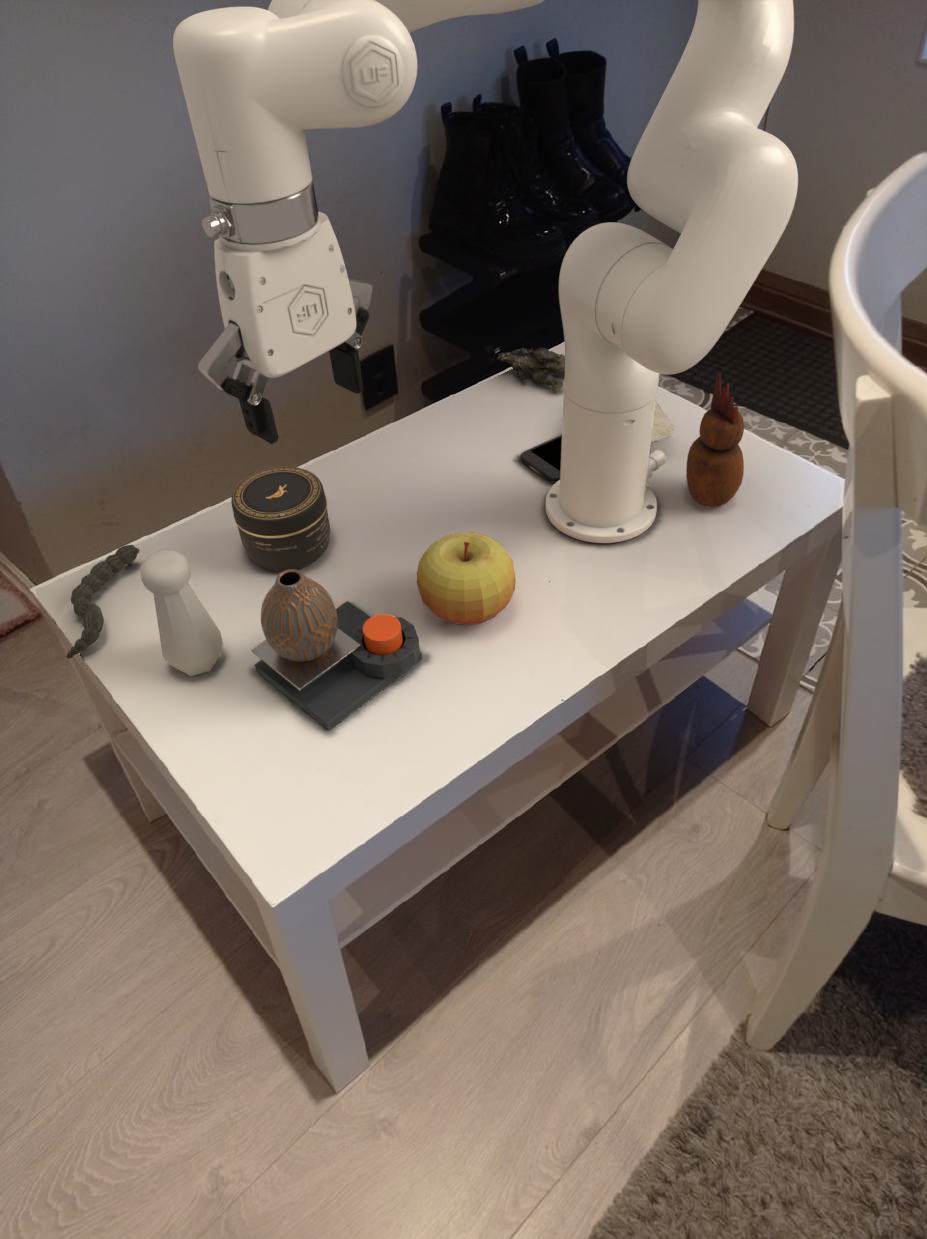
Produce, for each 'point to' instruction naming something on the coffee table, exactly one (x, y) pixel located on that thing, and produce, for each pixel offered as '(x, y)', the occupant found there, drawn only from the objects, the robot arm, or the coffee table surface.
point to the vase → (298, 617)
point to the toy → (91, 585)
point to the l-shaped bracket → (349, 672)
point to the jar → (282, 517)
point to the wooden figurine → (717, 452)
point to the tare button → (382, 634)
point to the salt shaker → (181, 614)
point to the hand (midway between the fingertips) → (308, 411)
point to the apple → (466, 578)
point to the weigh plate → (309, 670)
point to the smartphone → (545, 459)
